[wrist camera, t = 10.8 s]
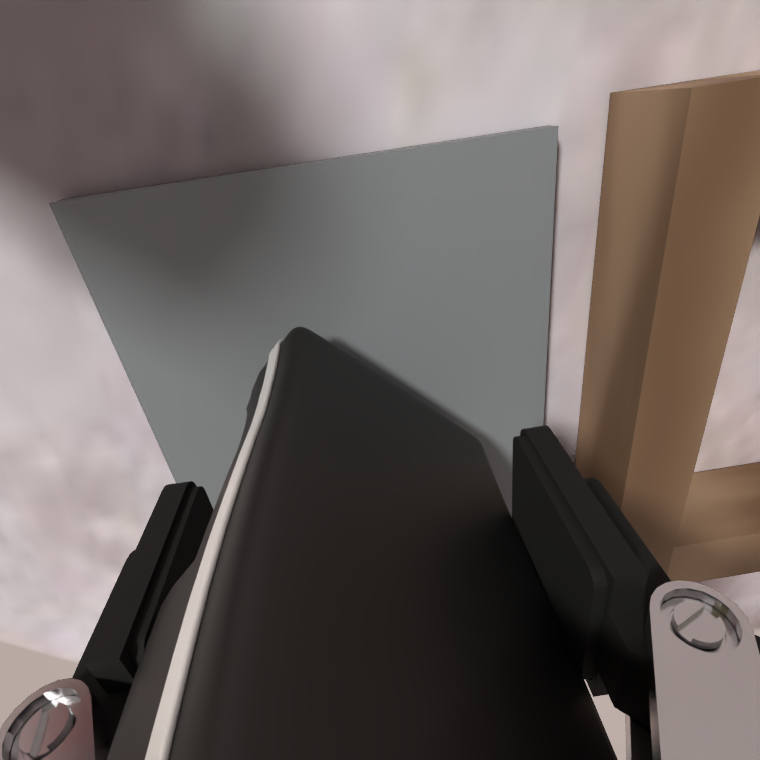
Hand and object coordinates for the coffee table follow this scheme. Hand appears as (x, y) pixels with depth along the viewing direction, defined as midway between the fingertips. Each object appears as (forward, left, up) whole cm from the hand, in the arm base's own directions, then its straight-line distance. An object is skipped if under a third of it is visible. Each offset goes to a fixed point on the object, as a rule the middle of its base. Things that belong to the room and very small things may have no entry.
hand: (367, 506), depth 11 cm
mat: (0, 0, -5) cm, 5 cm away
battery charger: (0, 0, -3) cm, 3 cm away
